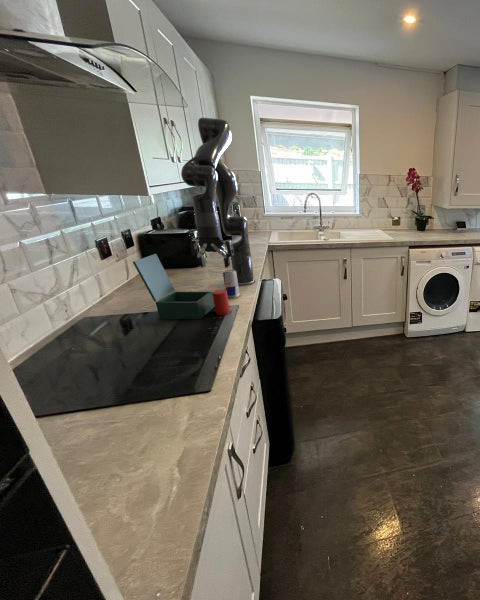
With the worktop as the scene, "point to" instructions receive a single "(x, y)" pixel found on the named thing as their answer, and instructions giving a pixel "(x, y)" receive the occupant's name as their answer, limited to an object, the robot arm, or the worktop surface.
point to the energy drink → (231, 283)
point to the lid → (154, 276)
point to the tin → (221, 302)
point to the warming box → (185, 305)
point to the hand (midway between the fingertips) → (215, 267)
